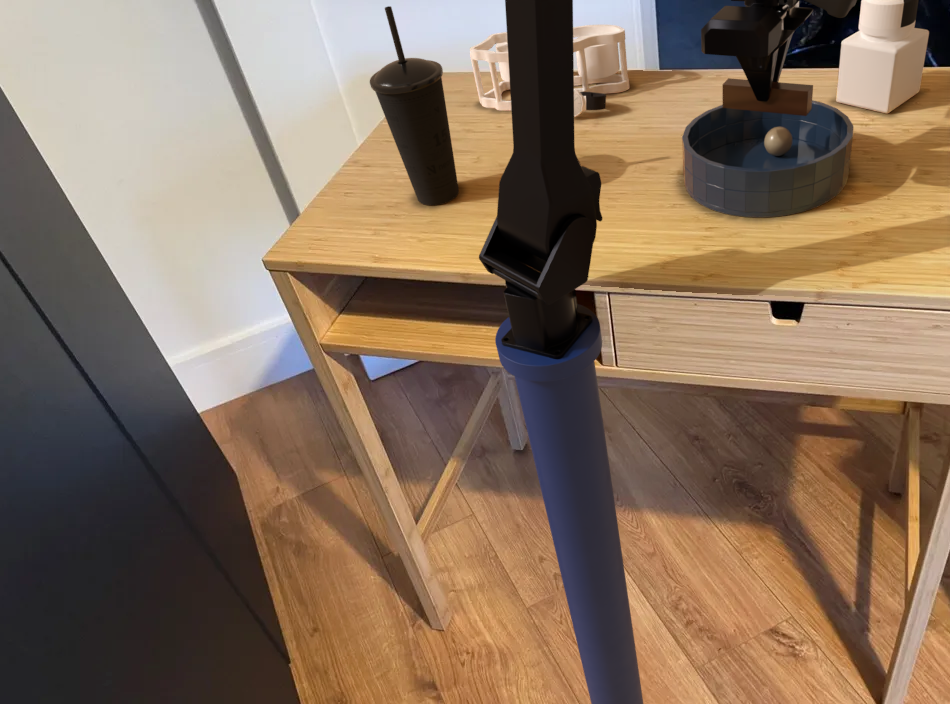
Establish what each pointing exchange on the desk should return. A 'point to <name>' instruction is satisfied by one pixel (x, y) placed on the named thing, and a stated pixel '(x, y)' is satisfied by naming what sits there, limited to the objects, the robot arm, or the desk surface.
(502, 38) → the skeletal toy car
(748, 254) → the desk surface
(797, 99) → the brown rectangular block
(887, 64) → the medicine bottle
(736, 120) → the bowl
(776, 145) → the bead
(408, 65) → the drinking cup
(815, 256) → the desk surface
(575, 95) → the watch
